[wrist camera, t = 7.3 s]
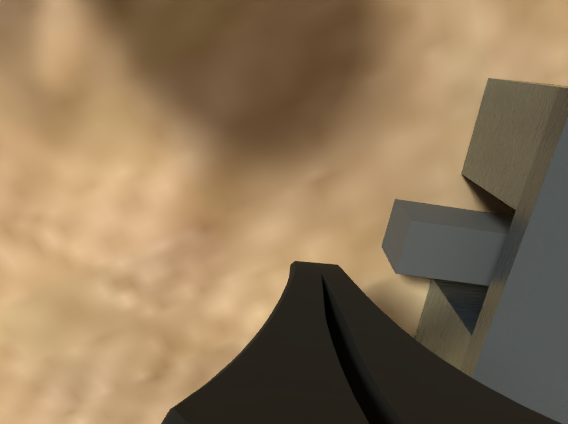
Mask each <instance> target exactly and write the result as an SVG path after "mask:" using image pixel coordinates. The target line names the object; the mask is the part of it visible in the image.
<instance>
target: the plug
mask: <svg viewBox="0 0 568 424" xmlns="http://www.w3.org/2000/svg"><path fill="white" fill-rule="evenodd" d="M513 217H514V216H507V215H500V214H493V213H487V212H480V211H473V210H466V209H459V208H452V207H446V206H439V205H432V204H425V203H418V202H411V201H405V200H398V199H395V201H394V205H393V208H392V212H391V215H390V219H389V222H388V226H387V229H386V233H385V236H384V240H383V243H382V248H383V250H384V252H385V254H386V256H387V258H388V260H389V262H390V264H391V266H392V268H393V270H394V271H395V273H396V274H404V275H411V276H419V277H426V278H434V279H441V280H449V281H456V282H464V283H471V284H479V285H486V286H490V283H491V280H492V277H493V274H494V271H495V268H496V266H497V263H498V260H499V257H500V254H501V251H502V249H503V246H504V243H505V240H506V237H507V234H508V231H509V229H510V226H511V223H512V220H513Z"/></svg>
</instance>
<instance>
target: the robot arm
mask: <svg viewBox="0 0 568 424" xmlns="http://www.w3.org/2000/svg"><path fill="white" fill-rule="evenodd" d="M161 424H562V423H559V422H557V421H555V420H553V419H551V418H549V417H546V416H544V415H542V414H540V413H538V412H536V411H533V410H531V409H529V408H527V407H525V406H523V405H521V404H519V403H517V402H515V401H513V400H511V399H509V398H507V397H506V396H504V395H502V394H500V393H498V392H496V391H494V390H493V389H491V388H489V387H487V386H485V385H484V384H482V383H480V382H478V381H477V380H475V379H473V378H471V377H470V376H468V375H466V374H465V373H463V372H462V371H460V370H459V369H457V368H455V367H454V366H452V365H451V364H449V363H448V362H446V361H444V360H443V359H441V358H440V357H439V356H437V355H436V354H434V353H433V352H431V351H430V350H429V349H427V348H426V347H425V346H423V345H422V344H421V343H419V342H418V341H417V340H415V339H414V338H413V337H411V336H410V335H409V334H408V333H406V332H405V331H404V330H403V329H401V328H400V327H399V326H398V325H397V324H396V323H395V322H393V321H392V320H391V319H390V318H389V317H388V316H387V315H386V314H385V313H383V312H382V311H381V310H380V309H379V308H378V307H377V306H376V305H375V304H374V303H373V302H372V301H371V300H370V299H369V298H368V297H367V296H366V295H365V294H364V293H363V292H362V291H361V289H360V288H359V287H358V286H357V285H356V284H355V283H354V282H353V281H352V280H351V279H350V277H349V276H348V275H347V274H346V273H345V272H344V271H343V270H342V269H341V268H340V267H339V266H338V265H334V264H323V263H311V262H299V261H295V262H293V263H292V264H291V266H290V274H289V279H288V282H287V285H286V287H285V289H284V291H283V294H282V296H281V298H280V300H279V301H278V303H277V305H276V307H275V308H274V310H273V312H272V313H271V315H270V316H269V318H268V319H267V321H266V322H265V324H264V325H263V327H262V328H261V329H260V330H259V332H258V333H257V334H256V336H255V337H254V338H253V339H252V340H251V341H250V343H249V344H248V345H247V346H246V347H245V348H244V349H243V350H242V352H241V353H240V354H239V355H238V356H237V357H236V358H235V359H234V360H233V361H232V362H230V363H229V364H228V365H227V366H226V367H225V368H224V369H223V370H221V371H220V372H219V373H218V374H217V375H216V376H215V377H214V378H212V379H211V380H210V381H209V382H208V383H206V384H205V385H204V386H203V387H201V388H200V389H198V390H197V391H196V392H194V393H193V394H191V395H190V396H189V397H187V398H186V399H184V400H183V401H182V402H180V403H179V404H177V405H176V406H174V407H173V408H171V409H170V410H169V412H168V414H167V415H166V417H165V418H164V420H163V422H162V423H161Z"/></svg>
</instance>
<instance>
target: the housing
mask: <svg viewBox="0 0 568 424" xmlns="http://www.w3.org/2000/svg"><path fill="white" fill-rule="evenodd" d="M462 175H464V176H465V177H467V178H468V179H470V180H471V181H473V182H474V183H476V184H477V185H479V186H480V187H482V188H483V189H485V190H486V191H488V192H489V193H491V194H492V195H494V196H495V197H497V198H498V199H500V200H501V201H503V202H504V203H506V204H507V205H509V206H510V207H512V208H513V209H515V210H516V212H515V214H514V217H513V220H512V223H511V226H510V229H509V231H508V234H507V237H506V240H505V243H504V246H503V249H502V251H501V254H500V257H499V260H498V263H497V266H496V268H495V271H494V274H493V277H492V280H491V283H490V286H486V285H479V284H471V283H464V282H456V281H449V280H441V279H434V278H432V280H431V284H430V287H429V291H428V294H427V298H426V302H425V305H424V309H423V312H422V316H421V319H420V323H419V326H418V330H417V333H416V337H415V340H417V341H418V342H419V343H421V344H422V345H423V346H425V347H426V348H427V349H429V350H430V351H431V352H433V353H434V354H436V355H437V356H439V357H440V358H441V359H443V360H444V361H446V362H448V363H449V364H451V365H452V366H454V367H455V368H457V369H459V370H460V371H462V372H463V373H465V374H466V375H468V376H470V377H471V378H473V379H475V380H477V381H478V382H480V383H482V384H484V385H485V386H487V387H489V388H491V389H493V390H494V391H496V392H498V393H500V394H502V395H504V396H506V397H507V398H509V399H511V400H513V401H515V402H517V403H519V404H521V405H523V406H525V407H527V408H529V409H531V410H533V411H536V412H538V413H540V414H542V415H544V416H546V417H549V418H551V419H553V420H555V421H557V422H559V423H562V424H568V86H559V85H550V84H540V83H530V82H520V81H511V80H501V79H491V78H488V82H487V85H486V89H485V92H484V96H483V100H482V103H481V107H480V110H479V114H478V117H477V121H476V124H475V128H474V131H473V135H472V139H471V142H470V146H469V149H468V153H467V156H466V160H465V163H464V167H463V170H462Z"/></svg>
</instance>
